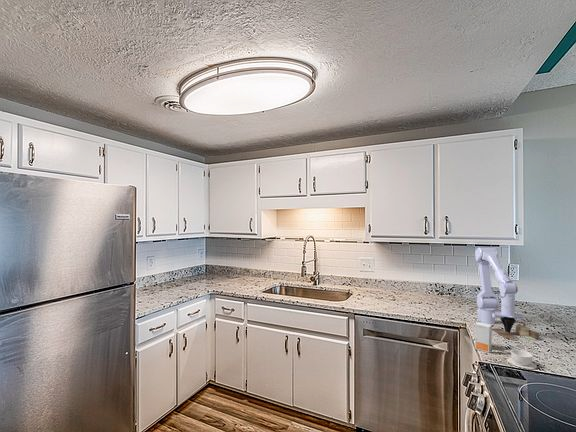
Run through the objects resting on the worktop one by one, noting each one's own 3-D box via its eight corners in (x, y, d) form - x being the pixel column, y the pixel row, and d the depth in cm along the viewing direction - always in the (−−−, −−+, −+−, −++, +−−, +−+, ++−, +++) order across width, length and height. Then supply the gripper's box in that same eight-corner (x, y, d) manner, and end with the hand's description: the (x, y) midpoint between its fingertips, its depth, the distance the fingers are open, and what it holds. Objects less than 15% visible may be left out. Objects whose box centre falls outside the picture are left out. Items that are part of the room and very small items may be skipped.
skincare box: (474, 349, 144) (474, 323, 144) (476, 346, 147) (477, 321, 147) (489, 353, 140) (489, 326, 140) (491, 350, 143) (492, 324, 143)
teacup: (531, 372, 123) (532, 360, 123) (503, 362, 131) (503, 351, 131) (540, 365, 129) (540, 354, 129) (512, 356, 137) (512, 346, 137)
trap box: (489, 331, 167) (489, 322, 167) (518, 332, 166) (518, 323, 166) (506, 341, 153) (506, 332, 153) (537, 342, 152) (538, 333, 152)
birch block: (515, 332, 162) (515, 325, 162) (523, 332, 161) (523, 325, 161) (521, 335, 158) (521, 327, 158) (529, 335, 157) (529, 327, 157)
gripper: (498, 307, 156) (497, 334, 156) (528, 308, 156) (527, 335, 156) (489, 303, 164) (489, 329, 164) (518, 304, 163) (518, 330, 163)
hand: (507, 331), depth 160 cm, fingers closed
